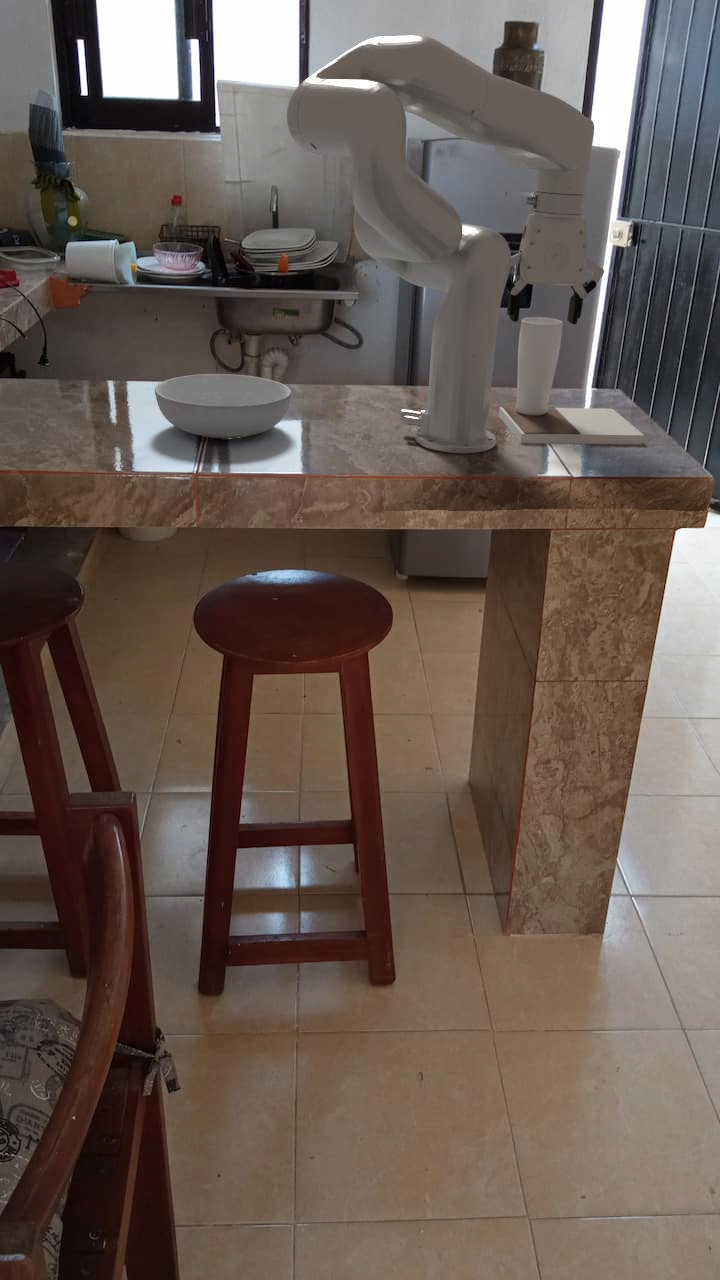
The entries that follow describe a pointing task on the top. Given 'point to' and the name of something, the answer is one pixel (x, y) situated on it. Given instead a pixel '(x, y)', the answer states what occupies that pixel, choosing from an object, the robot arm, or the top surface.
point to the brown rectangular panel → (542, 422)
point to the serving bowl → (223, 404)
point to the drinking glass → (537, 363)
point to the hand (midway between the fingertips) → (542, 321)
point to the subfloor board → (583, 428)
